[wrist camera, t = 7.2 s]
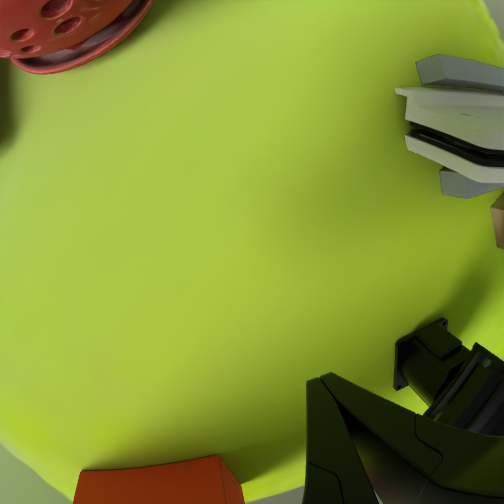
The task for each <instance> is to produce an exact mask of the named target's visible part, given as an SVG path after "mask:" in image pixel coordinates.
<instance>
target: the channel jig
mask: <svg viewBox="0 0 504 504" xmlns="http://www.w3.org/2000/svg"><path fill="white" fill-rule="evenodd" d="M415 63H416V66H417V69H418V72H419V76H420V79H421V83H422V85H442V86H455V87H466V88H475V89H483V90H491V91H497V92H501V93H502V94H503V95H504V68H500V67H496V66H493V65H489V64H485V63H481V62H477V61H472V60H468V59H463V58H458V57H453V56H447V55H441V54H438V55H435V56H432V57H429V58H426V59H423V60H421V61H418V62H415ZM440 179H441V188H442V195H448V196H453V197H459V198H464V199H469V198H472V197H475V196H478V195H481V194H484V193H487V192H490V191H494V190H497V189H500V188H503V187H504V183H481V182H477V181H474V180H472V179H470V178H468V177H466V176H464V175H462V174H460V173H458V172H456V171H454V170H452V169H447V170H442V171H440Z"/></svg>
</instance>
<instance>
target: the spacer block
mask: <svg viewBox="0 0 504 504" xmlns="http://www.w3.org/2000/svg"><path fill="white" fill-rule="evenodd" d="M490 209H491V214H492V219H493V224H494V230H495V237H496V243H497V247H498V248H501V249H504V193H503V194H502V195H501V196H500V197H499V198H498V199H497V201H496V202H495V203H494V204H493V205H492V206H491V207H490Z"/></svg>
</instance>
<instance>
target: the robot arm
mask: <svg viewBox="0 0 504 504" xmlns="http://www.w3.org/2000/svg"><path fill="white" fill-rule="evenodd" d="M447 325H448V320H447V319H446V318H441V319H439V320H438V321H436V322H434V323H432V324H430V325H428V326H427V327H425V328H423V329H421V330H419V331H417V332H415V333H413V334H411V335H409V336H407V337H405V338H403V339H401V340H399V341H398V342H397V343H396V346H395V370H394V385H393V388H394V389H395V390H396V391H398V390H401V389H402V388H404V387H406V386H408V385H409V386H410V387H411V388H412V389H413V390H414V391H415V392H416V393H417V395H418V396H419V397H420V398H421V399H422V400H423V401H424V402H425V403H426V404H427V405H428V406H429V408H428V409H427V410H426V412H425V413H424V414H423V415H420V414H416V413H415V412H413V411H411V410H408V409H406V408H404V407H402V406H400V405H398V404H395V403H393V402H391V401H389V400H387V399H385V398H383V397H381V396H378V395H376V394H374V393H372V392H370V391H368V390H366V389H364V388H362V387H360V386H358V385H356V384H354V383H352V382H350V381H348V380H346V379H344V378H342V377H340V376H338V375H336V374H335V373H332V372H329V373H326V374H324V375H321V376H320V377H319V378H318V377H316V378H313V379H310V380H308V381H307V382H306V476H305V489H304V495H303V500H302V504H379V502H378V500H377V497H376V495H375V492H376V493H377V495H378V496H379V498H380V500H381V501H382V503H383V504H504V361H502V360H501V359H500V358H498V357H497V356H495V355H494V354H492V353H491V352H490V351H488V350H487V349H485V348H484V347H482V346H481V345H480V344H478V343H477V342H475V344H474V345H473V348H472V350H471V351H470V350H469V349H467V348H466V347H465V346H463V345H462V341H460V340H459V339H458V338H456V337H455V336H454V335H452V334H451V333H449V332H448V331H447ZM373 489H374V490H375V492H374V490H373Z"/></svg>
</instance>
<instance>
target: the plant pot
mask: <svg viewBox="0 0 504 504" xmlns="http://www.w3.org/2000/svg"><path fill="white" fill-rule="evenodd" d="M153 2H154V0H0V58H10V59H11V60H12V62H13V63H14V64H15V65H16V66H17V67H18V68H20V69H22V70H24V71H26V72H29V73H33V74H42V75H45V74H54V73H59V72H63V71H67V70H70V69H73V68H76V67H79V66H81V65H83V64H86V63H88V62H90V61H92V60H94V59H95V58H97V57H99V56H101V55H103V54H104V53H106V52H107V51H109V50H110V49H112V48H113V47H114V46H116V45H117V44H118V43H120V42H121V41H122V40H123V39H124V38H126V37H127V36H128V35H129V34H130V33H131V32H132V31H133V30H134V29H135V28H136V27H137V26H138V25H139V23H140V22H141V21H142V20H143V18H144V17H145V15H146V14H147V13H148V11H149V10H150V8H151V6H152V4H153Z"/></svg>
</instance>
